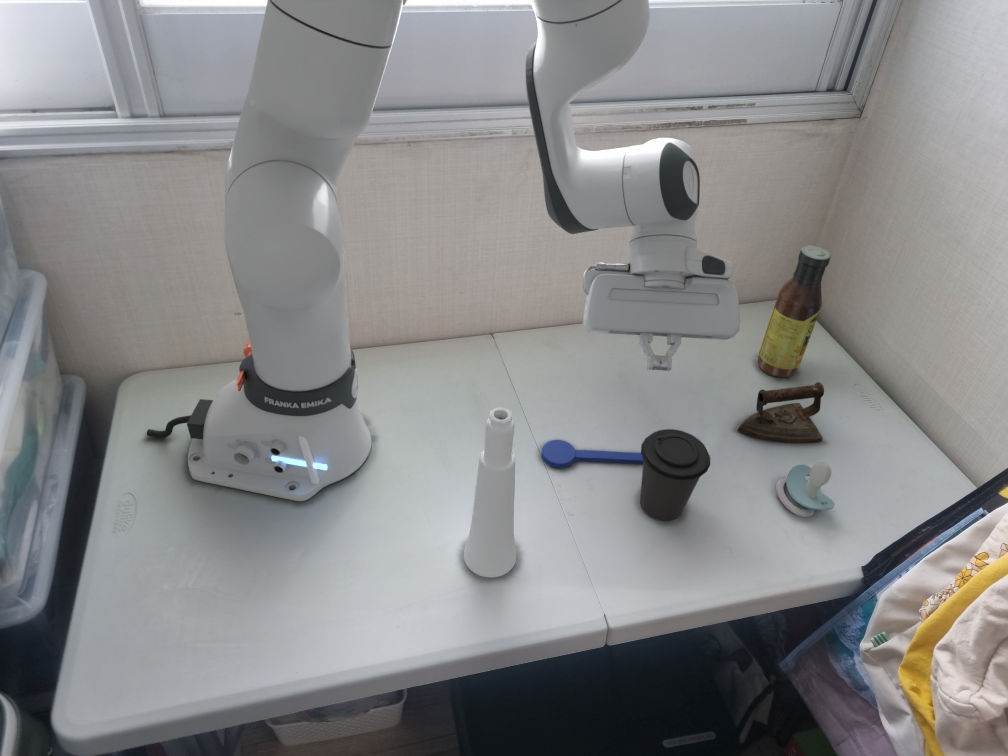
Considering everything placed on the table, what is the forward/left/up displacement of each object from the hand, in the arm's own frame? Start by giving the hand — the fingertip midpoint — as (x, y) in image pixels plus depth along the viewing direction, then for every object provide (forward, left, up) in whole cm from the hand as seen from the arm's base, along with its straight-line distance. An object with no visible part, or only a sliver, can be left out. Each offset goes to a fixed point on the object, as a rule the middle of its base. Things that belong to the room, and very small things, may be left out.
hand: (658, 369), depth 100 cm
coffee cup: (0, -15, -10) cm, 18 cm away
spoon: (-7, -7, -9) cm, 14 cm away
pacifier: (+18, -13, -10) cm, 24 cm away
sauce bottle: (+22, +14, -10) cm, 28 cm away
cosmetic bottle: (-21, -24, -10) cm, 33 cm away
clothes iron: (+18, 0, -10) cm, 20 cm away
